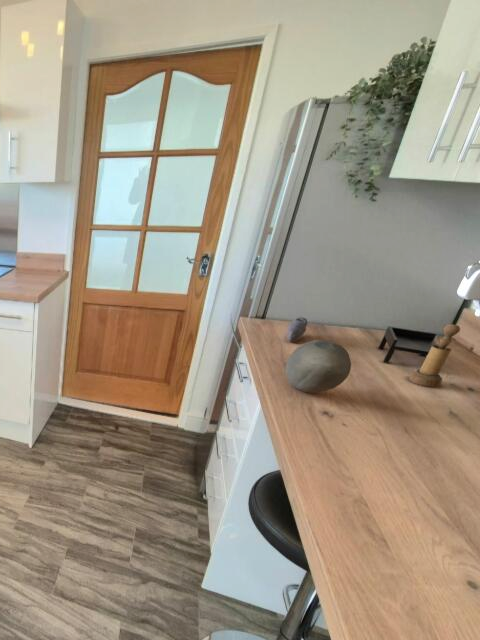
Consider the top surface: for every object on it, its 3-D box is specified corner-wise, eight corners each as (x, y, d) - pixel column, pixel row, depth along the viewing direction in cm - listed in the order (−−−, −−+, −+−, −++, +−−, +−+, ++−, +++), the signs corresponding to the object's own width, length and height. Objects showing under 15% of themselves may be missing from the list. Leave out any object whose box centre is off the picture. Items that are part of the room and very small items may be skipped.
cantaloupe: (267, 386, 124) (284, 338, 118) (294, 377, 130) (313, 330, 123) (321, 408, 113) (343, 356, 106) (348, 396, 119) (371, 347, 112)
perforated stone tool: (296, 346, 153) (303, 327, 150) (279, 342, 156) (285, 324, 153) (305, 335, 162) (311, 318, 159) (288, 332, 165) (294, 315, 162)
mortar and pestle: (410, 375, 131) (439, 319, 123) (440, 382, 127) (472, 325, 119) (406, 381, 128) (436, 324, 120) (437, 389, 123) (470, 330, 115)
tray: (424, 355, 145) (436, 333, 142) (433, 371, 134) (446, 348, 130) (378, 347, 152) (388, 326, 148) (383, 362, 140) (394, 339, 137)
